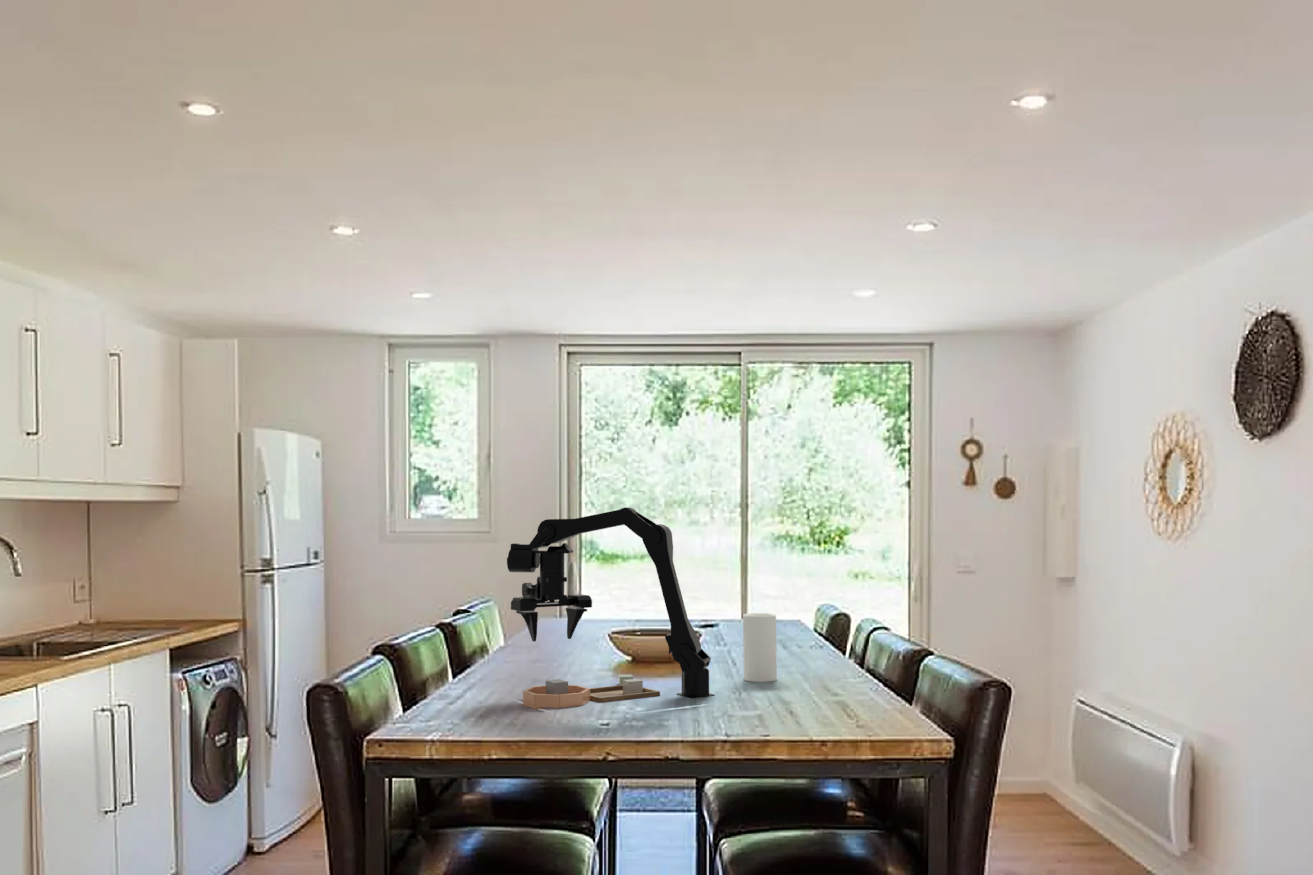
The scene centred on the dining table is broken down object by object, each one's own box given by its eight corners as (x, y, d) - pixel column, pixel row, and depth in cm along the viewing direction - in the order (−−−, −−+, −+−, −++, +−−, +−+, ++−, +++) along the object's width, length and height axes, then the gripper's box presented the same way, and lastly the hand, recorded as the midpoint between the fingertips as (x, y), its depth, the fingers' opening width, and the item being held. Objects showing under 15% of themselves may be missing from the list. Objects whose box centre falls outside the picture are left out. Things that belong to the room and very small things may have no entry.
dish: (599, 705, 231) (599, 691, 232) (542, 711, 224) (542, 697, 224) (569, 696, 243) (569, 683, 243) (515, 702, 235) (515, 688, 236)
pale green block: (633, 676, 254) (633, 688, 254) (631, 674, 258) (631, 686, 258) (619, 677, 254) (619, 689, 254) (618, 674, 258) (618, 686, 258)
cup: (740, 681, 264) (739, 615, 265) (747, 676, 272) (746, 612, 273) (773, 682, 261) (772, 616, 262) (779, 677, 269) (778, 613, 270)
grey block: (568, 702, 233) (568, 681, 233) (554, 703, 231) (554, 682, 231) (559, 699, 236) (559, 679, 236) (545, 700, 234) (545, 680, 235)
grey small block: (637, 692, 245) (637, 678, 245) (642, 694, 242) (642, 680, 243) (622, 693, 244) (622, 679, 244) (628, 695, 241) (628, 681, 241)
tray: (659, 697, 240) (659, 691, 241) (599, 704, 232) (599, 698, 232) (630, 690, 251) (630, 684, 251) (572, 696, 243) (572, 690, 243)
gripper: (570, 570, 262) (570, 634, 261) (501, 572, 252) (500, 639, 251) (593, 572, 253) (593, 638, 252) (521, 574, 243) (521, 644, 241)
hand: (551, 640), depth 249 cm, fingers open, 9 cm apart
